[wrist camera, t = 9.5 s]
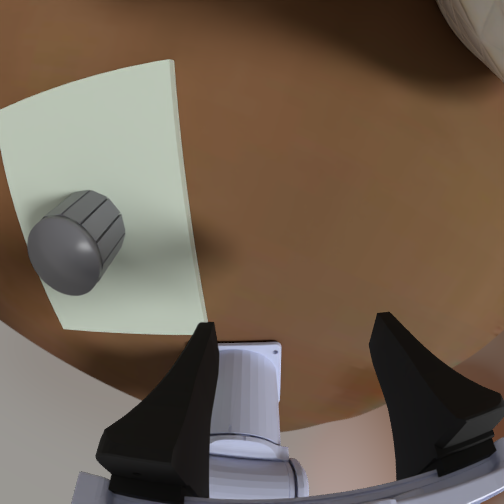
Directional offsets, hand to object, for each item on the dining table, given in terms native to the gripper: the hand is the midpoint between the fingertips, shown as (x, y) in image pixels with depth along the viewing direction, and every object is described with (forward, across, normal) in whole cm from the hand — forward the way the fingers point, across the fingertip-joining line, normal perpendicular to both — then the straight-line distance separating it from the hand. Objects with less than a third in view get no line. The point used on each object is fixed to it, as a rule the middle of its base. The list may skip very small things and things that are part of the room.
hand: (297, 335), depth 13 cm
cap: (+8, +13, -2) cm, 16 cm away
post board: (+9, +13, -2) cm, 16 cm away
